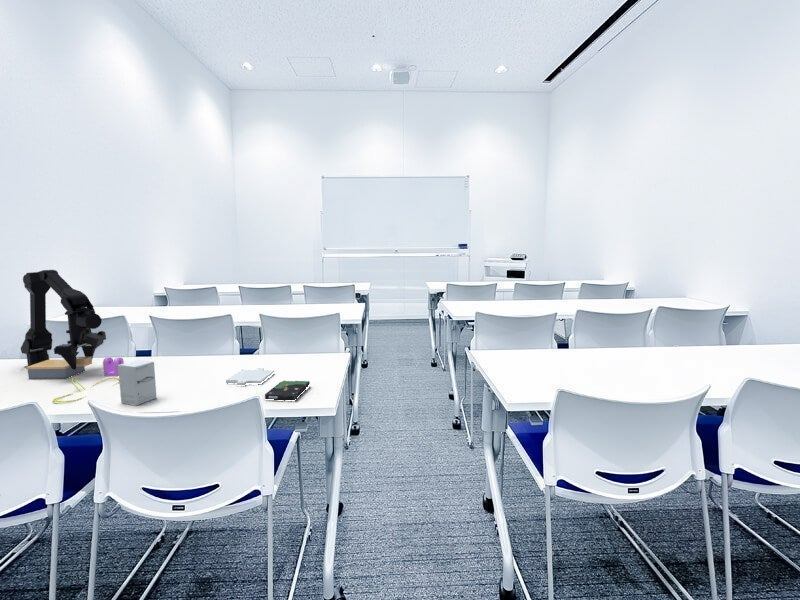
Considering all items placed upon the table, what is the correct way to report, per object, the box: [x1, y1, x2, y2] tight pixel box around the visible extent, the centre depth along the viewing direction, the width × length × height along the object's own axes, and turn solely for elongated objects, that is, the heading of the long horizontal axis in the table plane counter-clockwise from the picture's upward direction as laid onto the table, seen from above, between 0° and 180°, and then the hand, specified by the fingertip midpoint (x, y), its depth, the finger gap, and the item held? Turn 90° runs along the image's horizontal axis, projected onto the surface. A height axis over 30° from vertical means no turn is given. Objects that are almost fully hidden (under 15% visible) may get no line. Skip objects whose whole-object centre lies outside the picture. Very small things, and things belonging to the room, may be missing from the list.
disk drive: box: [264, 380, 310, 400], centre depth 147 cm, size 10×3×15 cm
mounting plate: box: [225, 367, 275, 386], centre depth 163 cm, size 18×13×2 cm
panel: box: [27, 366, 86, 380], centre depth 168 cm, size 14×10×4 cm
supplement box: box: [118, 359, 157, 406], centre depth 140 cm, size 7×7×13 cm
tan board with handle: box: [25, 356, 93, 370], centre depth 168 cm, size 20×11×3 cm, turn 90°
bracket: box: [102, 357, 125, 377], centre depth 173 cm, size 13×6×7 cm, turn 176°
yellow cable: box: [52, 376, 120, 403], centre depth 151 cm, size 25×10×5 cm, turn 173°
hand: (82, 366), depth 168 cm, fingers open, 8 cm apart
